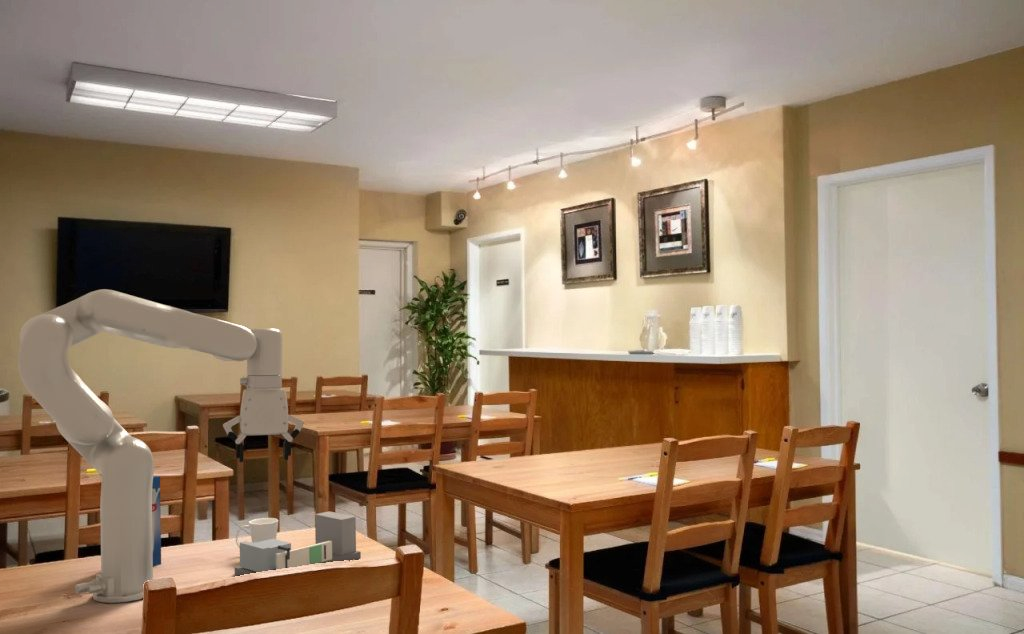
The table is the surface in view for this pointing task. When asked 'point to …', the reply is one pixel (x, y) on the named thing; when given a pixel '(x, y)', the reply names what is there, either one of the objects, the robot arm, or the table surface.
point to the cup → (261, 529)
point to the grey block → (262, 554)
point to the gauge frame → (322, 543)
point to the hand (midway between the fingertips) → (263, 460)
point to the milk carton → (156, 521)
